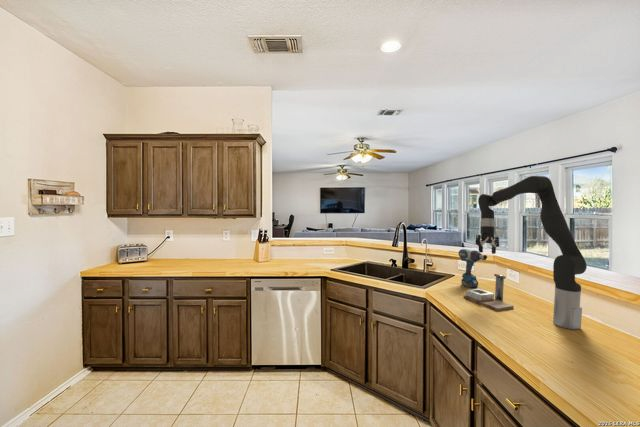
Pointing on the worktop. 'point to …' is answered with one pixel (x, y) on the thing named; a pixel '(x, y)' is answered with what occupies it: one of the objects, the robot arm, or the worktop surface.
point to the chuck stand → (486, 299)
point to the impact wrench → (470, 266)
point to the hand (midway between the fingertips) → (487, 253)
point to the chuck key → (499, 287)
